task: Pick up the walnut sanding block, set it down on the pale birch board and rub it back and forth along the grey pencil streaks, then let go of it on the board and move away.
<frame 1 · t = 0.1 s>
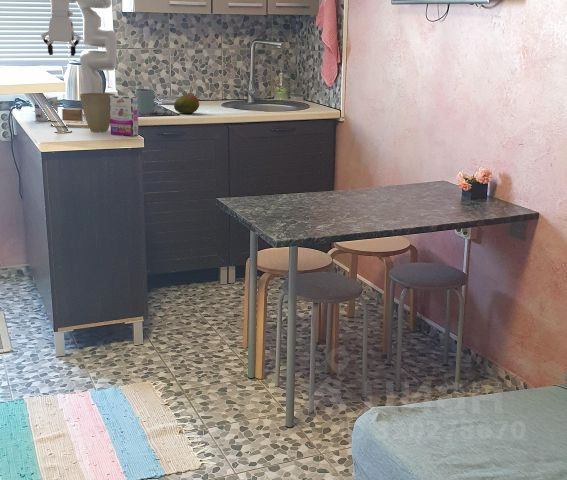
hand: (61, 55, 351), 31 cm above the table, tool pointing down, fingers open, 9 cm apart
sanding block: (72, 121, 377), on the table
candy bar box: (124, 135, 342), on the table
fruit: (186, 114, 422), on the table
plant pot: (98, 131, 350), on the table
board: (75, 125, 365), on the table
blue-green cup: (145, 113, 419), on the table
light bulb box: (46, 120, 380), on the table
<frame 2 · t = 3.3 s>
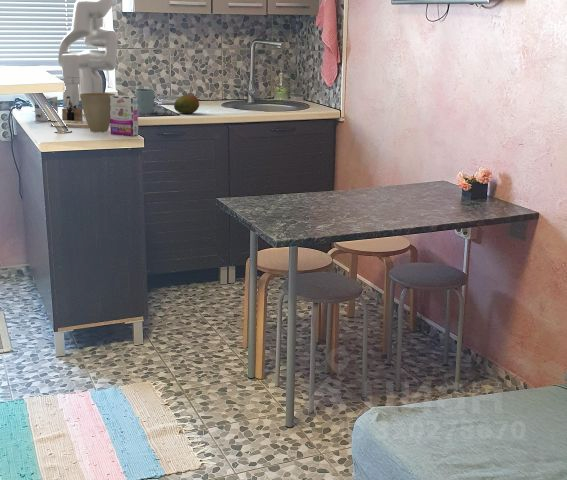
hand: (72, 120, 377), 1 cm above the table, tool pointing down, fingers closed on sanding block, 5 cm apart
sanding block: (72, 121, 377), on the table, touching gripper
everything else where it was.
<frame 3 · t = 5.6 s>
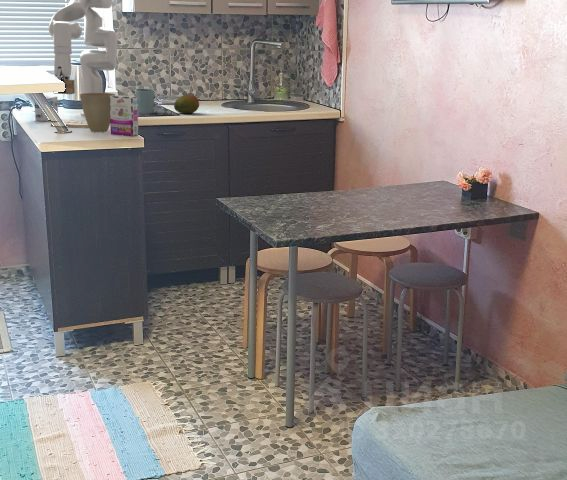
hand: (64, 91, 361), 15 cm above the table, tool pointing down, fingers closed on sanding block, 5 cm apart
sanding block: (64, 93, 361), point 14 cm above the table, touching gripper
everything else where it was.
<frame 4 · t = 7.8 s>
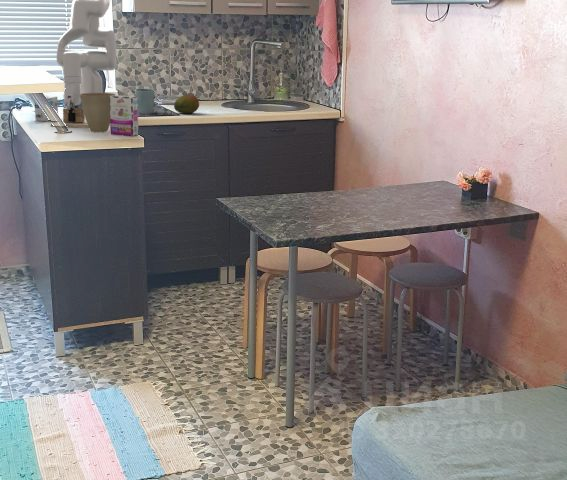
hand: (73, 120, 365), 2 cm above the table, tool pointing down, fingers closed on sanding block, 5 cm apart
sanding block: (73, 121, 365), point 1 cm above the table, touching gripper
everything else where it was.
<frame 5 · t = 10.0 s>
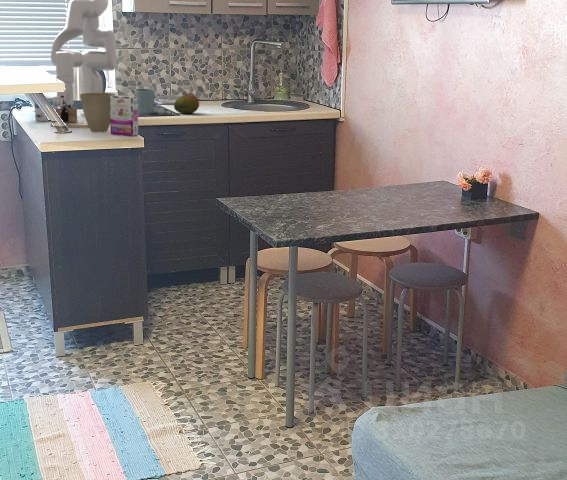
hand: (66, 120, 365), 2 cm above the table, tool pointing down, fingers closed on sanding block, 5 cm apart
sanding block: (66, 121, 365), point 1 cm above the table, touching gripper
everything else where it was.
when the fingers open (2 cm above the table, at t = 12.2 s): sanding block stays where it is, resting on board.
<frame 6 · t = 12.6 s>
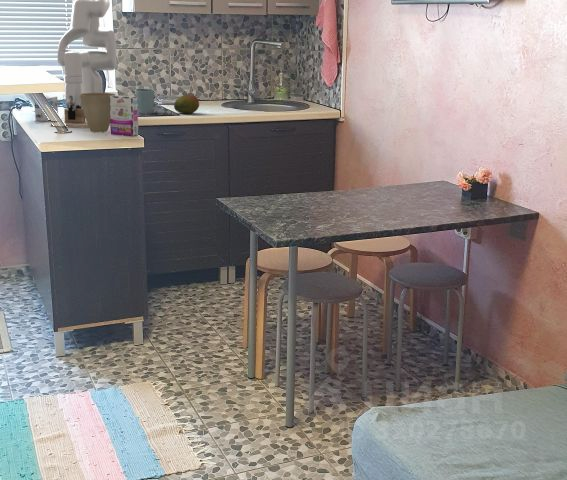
hand: (75, 118, 364), 3 cm above the table, tool pointing down, fingers open, 9 cm apart
sanding block: (75, 122, 365), point 1 cm above the table, touching board
everything else where it was.
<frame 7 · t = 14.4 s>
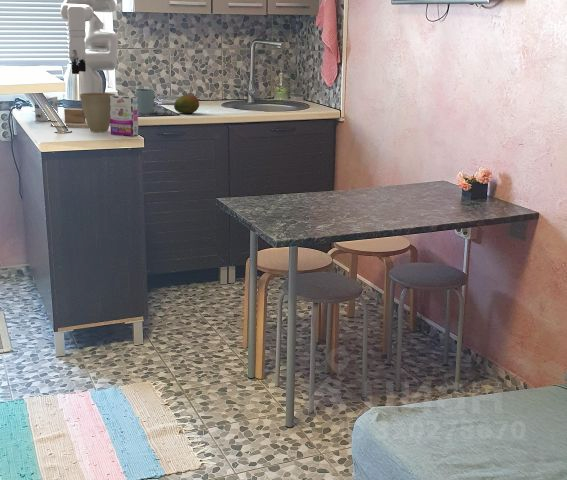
hand: (78, 72, 367), 23 cm above the table, tool pointing down, fingers open, 9 cm apart
nothing on the table moved.
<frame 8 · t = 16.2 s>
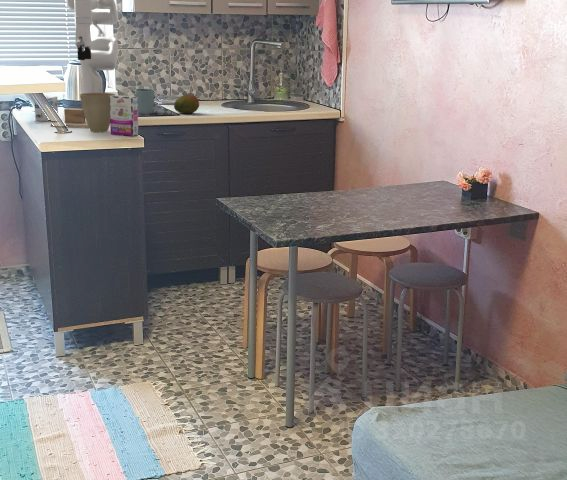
hand: (84, 59, 374), 28 cm above the table, tool pointing down, fingers open, 9 cm apart
nothing on the table moved.
at the end: sanding block inside the target area on the board (0.6 cm from its centre), point 1.2 cm above the board's base; sanding block tilted 0°; the gripper is holding nothing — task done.
